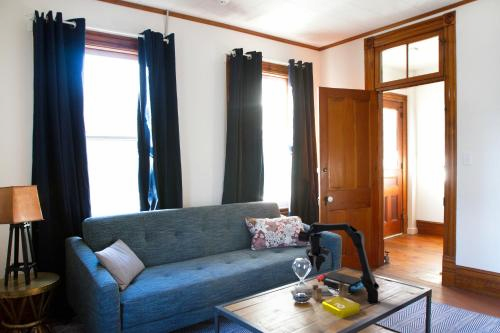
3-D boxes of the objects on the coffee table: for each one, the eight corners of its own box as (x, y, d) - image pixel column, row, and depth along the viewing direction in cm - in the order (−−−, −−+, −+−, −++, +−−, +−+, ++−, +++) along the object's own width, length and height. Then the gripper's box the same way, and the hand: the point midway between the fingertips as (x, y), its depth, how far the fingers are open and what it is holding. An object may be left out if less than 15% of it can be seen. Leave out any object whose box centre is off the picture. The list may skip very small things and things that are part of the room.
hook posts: (348, 299, 213) (348, 286, 212) (316, 302, 209) (316, 289, 209) (343, 295, 219) (343, 282, 219) (312, 297, 215) (312, 284, 215)
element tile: (361, 312, 197) (361, 303, 197) (341, 319, 189) (341, 310, 189) (340, 302, 210) (340, 294, 210) (320, 308, 202) (320, 300, 201)
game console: (368, 280, 226) (356, 286, 216) (368, 290, 226) (356, 297, 216) (328, 269, 245) (315, 275, 235) (327, 279, 246) (315, 285, 235)
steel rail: (328, 292, 222) (328, 287, 221) (296, 294, 218) (296, 289, 218) (326, 290, 225) (326, 285, 225) (294, 292, 221) (294, 287, 221)
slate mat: (332, 295, 219) (332, 293, 219) (295, 298, 215) (295, 296, 215) (326, 289, 228) (326, 288, 228) (290, 292, 224) (290, 290, 224)
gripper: (334, 247, 218) (333, 273, 219) (322, 239, 236) (321, 263, 237) (316, 248, 216) (315, 274, 217) (305, 240, 234) (305, 264, 235)
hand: (315, 269), depth 226 cm, fingers open, 9 cm apart
